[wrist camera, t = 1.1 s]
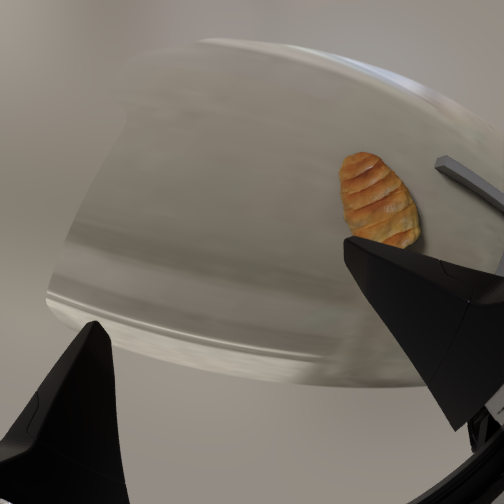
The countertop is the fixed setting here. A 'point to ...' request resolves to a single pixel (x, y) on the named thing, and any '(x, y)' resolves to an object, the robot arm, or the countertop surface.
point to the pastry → (377, 202)
